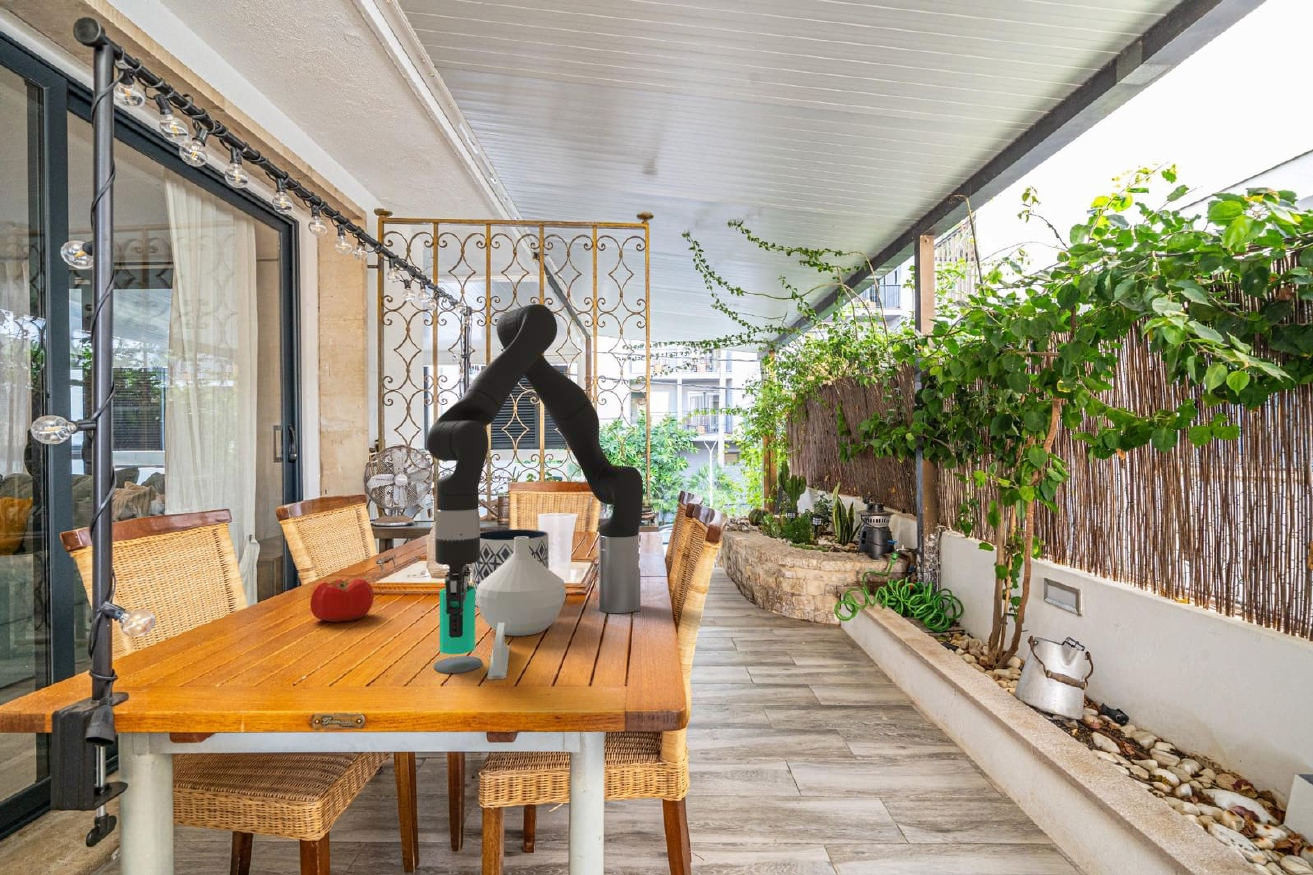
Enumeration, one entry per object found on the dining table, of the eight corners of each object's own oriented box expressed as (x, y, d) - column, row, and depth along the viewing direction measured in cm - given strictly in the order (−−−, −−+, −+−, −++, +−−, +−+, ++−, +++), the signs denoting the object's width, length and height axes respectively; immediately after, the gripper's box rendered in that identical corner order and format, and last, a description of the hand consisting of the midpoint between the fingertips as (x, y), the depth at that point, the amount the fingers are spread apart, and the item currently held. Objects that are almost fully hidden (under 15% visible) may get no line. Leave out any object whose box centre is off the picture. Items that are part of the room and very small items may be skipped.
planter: (513, 590, 178) (513, 527, 178) (564, 599, 167) (563, 533, 167) (456, 604, 163) (456, 535, 163) (507, 615, 152) (507, 542, 152)
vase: (457, 637, 135) (457, 541, 135) (507, 614, 153) (507, 529, 153) (537, 646, 129) (537, 546, 129) (581, 622, 146) (580, 533, 146)
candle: (480, 644, 121) (480, 577, 121) (467, 655, 115) (467, 584, 115) (448, 643, 121) (448, 576, 121) (433, 653, 115) (433, 583, 115)
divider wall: (509, 648, 128) (509, 622, 128) (506, 678, 112) (506, 648, 112) (493, 649, 127) (493, 623, 127) (487, 679, 111) (487, 649, 111)
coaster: (483, 657, 123) (483, 654, 123) (480, 672, 115) (480, 669, 115) (437, 659, 122) (437, 657, 122) (430, 675, 114) (430, 672, 114)
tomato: (377, 610, 157) (377, 573, 157) (369, 624, 145) (369, 584, 145) (317, 614, 154) (316, 576, 154) (304, 628, 142) (304, 588, 142)
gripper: (476, 540, 112) (476, 643, 112) (483, 529, 126) (483, 620, 126) (429, 541, 111) (429, 645, 111) (441, 530, 125) (441, 622, 125)
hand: (458, 631), depth 118 cm, fingers closed on candle, 5 cm apart
